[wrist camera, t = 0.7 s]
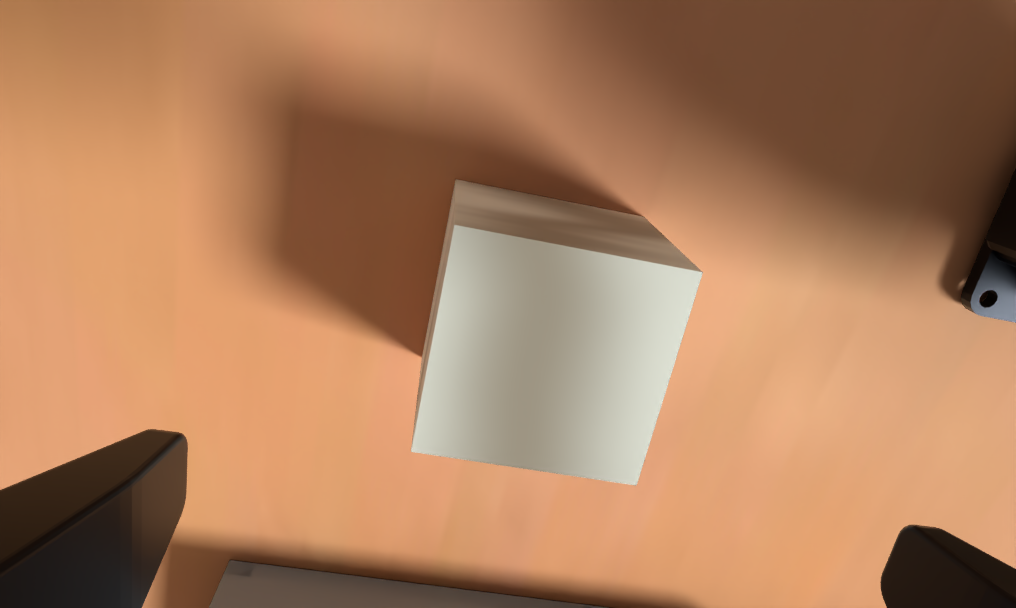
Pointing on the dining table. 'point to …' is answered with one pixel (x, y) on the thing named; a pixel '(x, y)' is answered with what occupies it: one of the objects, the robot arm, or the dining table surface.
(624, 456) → the cream block
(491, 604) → the tray
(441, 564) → the dining table surface
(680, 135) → the dining table surface
